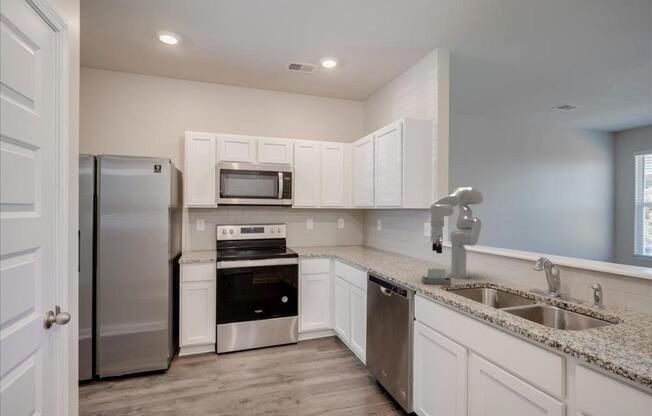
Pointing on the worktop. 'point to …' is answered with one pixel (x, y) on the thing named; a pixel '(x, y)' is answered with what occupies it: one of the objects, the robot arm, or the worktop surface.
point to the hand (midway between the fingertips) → (437, 252)
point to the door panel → (436, 273)
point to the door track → (436, 281)
